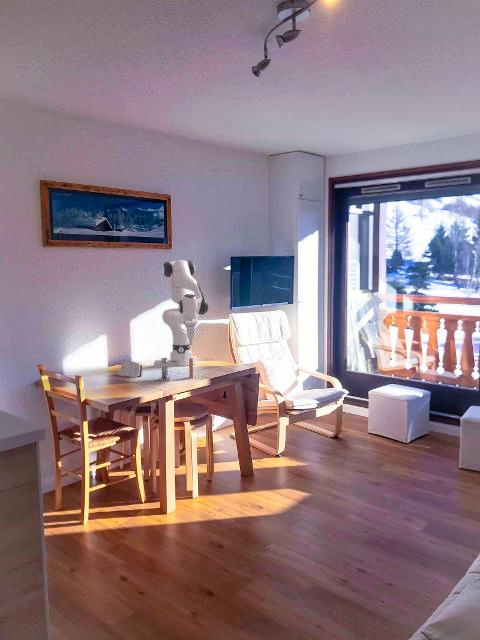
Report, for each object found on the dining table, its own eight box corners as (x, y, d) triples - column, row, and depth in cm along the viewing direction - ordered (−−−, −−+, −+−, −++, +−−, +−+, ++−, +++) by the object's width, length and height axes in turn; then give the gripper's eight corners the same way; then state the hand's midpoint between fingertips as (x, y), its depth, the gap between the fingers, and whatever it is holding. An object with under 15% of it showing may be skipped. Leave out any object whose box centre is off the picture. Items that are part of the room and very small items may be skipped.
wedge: (189, 377, 341) (189, 358, 339) (193, 377, 341) (192, 357, 340) (189, 377, 339) (189, 358, 337) (193, 377, 339) (192, 358, 337)
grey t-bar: (155, 378, 338) (154, 357, 337) (179, 377, 340) (179, 356, 339) (154, 381, 329) (153, 360, 327) (179, 380, 330) (179, 359, 329)
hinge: (116, 375, 349) (120, 359, 350) (121, 376, 352) (125, 360, 354) (136, 377, 340) (140, 361, 342) (141, 379, 344) (145, 363, 346)
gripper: (185, 319, 346) (185, 341, 347) (185, 323, 326) (185, 346, 327) (195, 319, 347) (195, 341, 348) (195, 322, 326) (196, 346, 328)
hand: (190, 343), depth 337 cm, fingers open, 8 cm apart
